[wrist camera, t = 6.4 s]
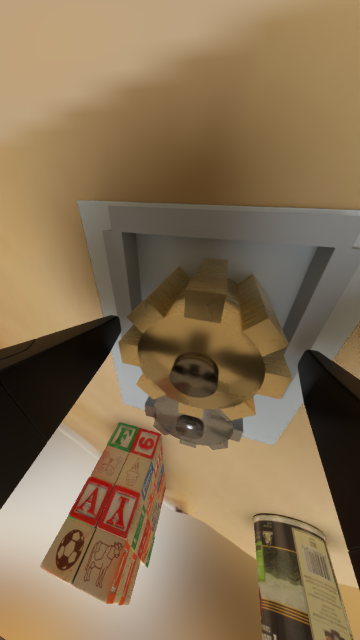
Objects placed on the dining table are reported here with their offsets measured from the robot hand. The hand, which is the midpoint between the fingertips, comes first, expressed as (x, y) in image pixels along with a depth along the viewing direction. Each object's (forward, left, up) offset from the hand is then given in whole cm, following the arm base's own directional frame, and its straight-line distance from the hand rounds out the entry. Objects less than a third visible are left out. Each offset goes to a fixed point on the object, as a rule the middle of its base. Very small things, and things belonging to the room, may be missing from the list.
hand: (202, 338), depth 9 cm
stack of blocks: (+7, +30, -4) cm, 31 cm away
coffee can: (-17, +38, -4) cm, 42 cm away
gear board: (0, +3, -4) cm, 5 cm away
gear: (0, +8, -2) cm, 8 cm away
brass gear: (0, 0, -2) cm, 3 cm away
